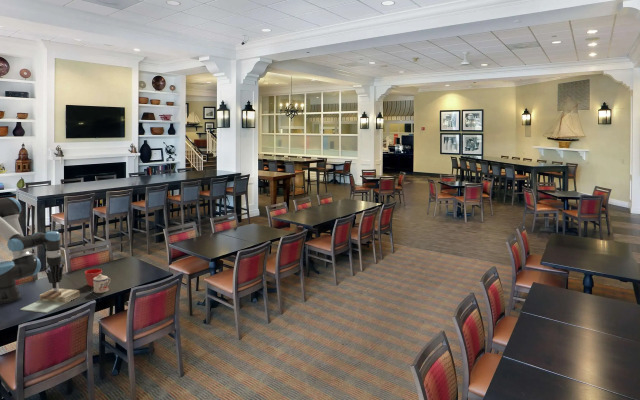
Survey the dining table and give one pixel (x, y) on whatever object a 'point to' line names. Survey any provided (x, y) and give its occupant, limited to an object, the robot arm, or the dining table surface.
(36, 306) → the sage mat
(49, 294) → the walnut tile
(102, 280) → the teacup with lid
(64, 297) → the birch deck
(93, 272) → the flower pot
